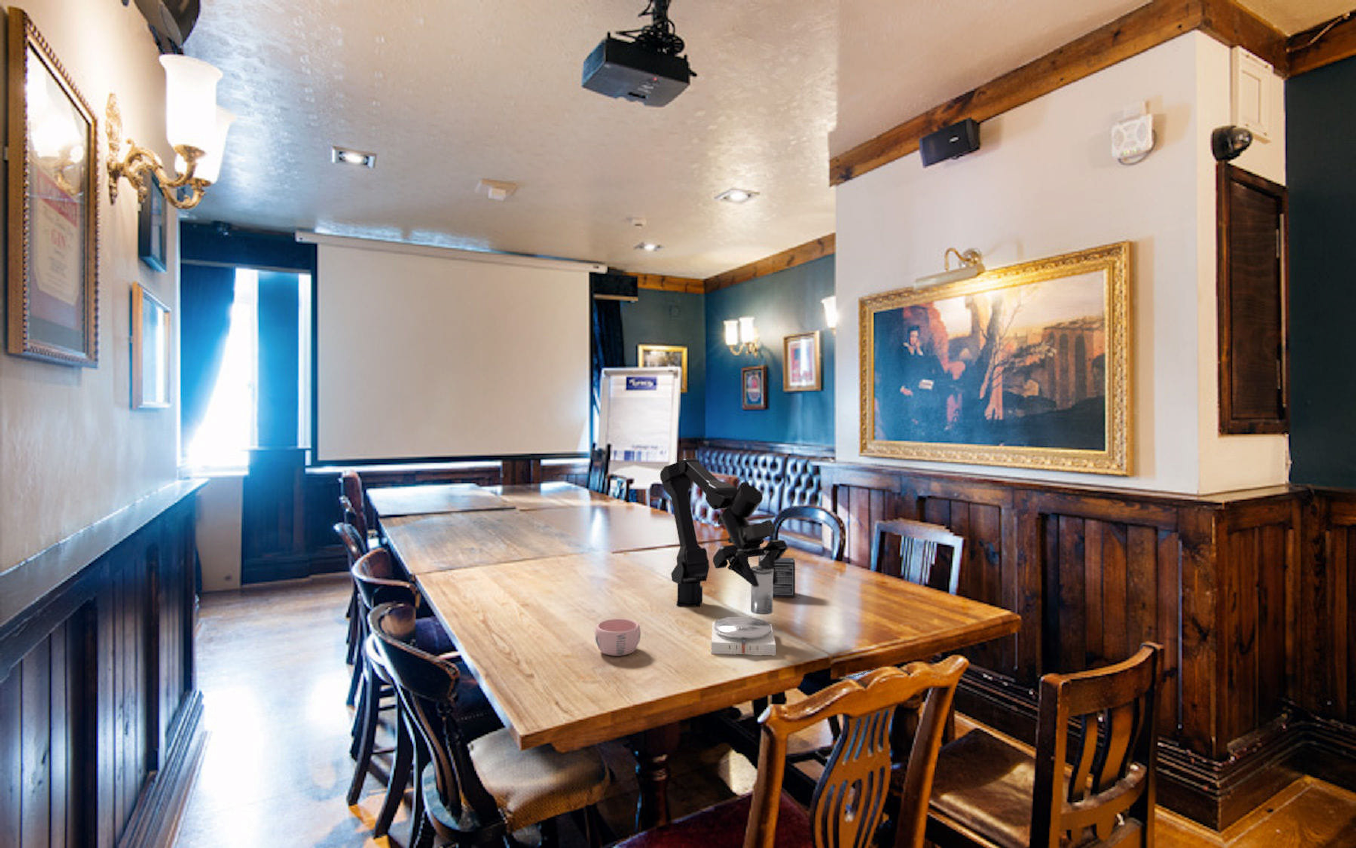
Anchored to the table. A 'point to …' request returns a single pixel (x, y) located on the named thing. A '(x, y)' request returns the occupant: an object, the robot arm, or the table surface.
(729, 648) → the base
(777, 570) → the small box
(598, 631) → the mug
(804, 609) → the table surface
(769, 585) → the steel weight
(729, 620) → the scale pan
